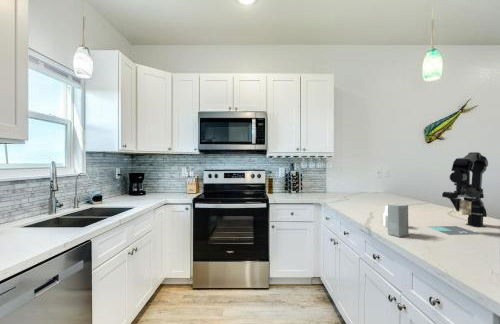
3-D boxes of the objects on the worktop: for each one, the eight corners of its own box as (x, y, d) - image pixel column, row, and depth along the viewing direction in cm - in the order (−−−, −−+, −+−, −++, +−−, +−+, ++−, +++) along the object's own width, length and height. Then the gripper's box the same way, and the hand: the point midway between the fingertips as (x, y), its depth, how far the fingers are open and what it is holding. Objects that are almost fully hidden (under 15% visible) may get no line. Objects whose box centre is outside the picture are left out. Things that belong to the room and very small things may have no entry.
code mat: (455, 226, 155) (455, 226, 155) (482, 234, 139) (482, 234, 139) (426, 226, 154) (426, 226, 154) (449, 235, 138) (449, 234, 138)
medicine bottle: (396, 225, 157) (396, 205, 157) (399, 228, 150) (399, 207, 150) (383, 224, 159) (383, 204, 159) (385, 227, 153) (385, 206, 152)
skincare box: (399, 237, 133) (399, 206, 133) (386, 234, 140) (386, 204, 139) (409, 235, 137) (409, 204, 137) (396, 231, 144) (396, 202, 143)
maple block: (462, 212, 145) (463, 200, 145) (471, 214, 140) (471, 201, 140) (454, 212, 145) (454, 200, 145) (461, 214, 140) (462, 201, 140)
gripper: (459, 183, 134) (458, 214, 134) (494, 183, 135) (493, 214, 135) (441, 181, 145) (441, 210, 145) (474, 181, 146) (473, 209, 146)
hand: (462, 211), depth 143 cm, fingers closed on maple block, 5 cm apart
